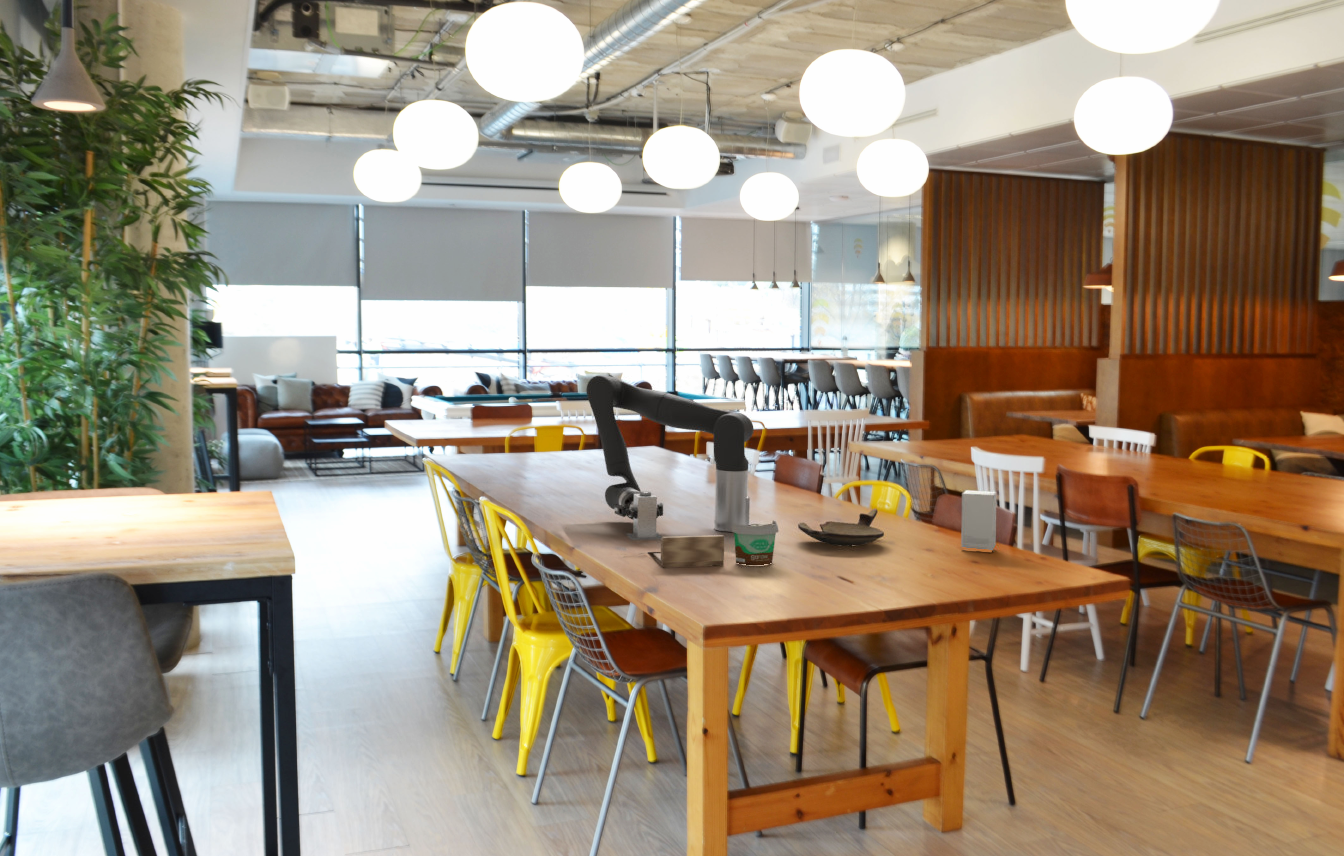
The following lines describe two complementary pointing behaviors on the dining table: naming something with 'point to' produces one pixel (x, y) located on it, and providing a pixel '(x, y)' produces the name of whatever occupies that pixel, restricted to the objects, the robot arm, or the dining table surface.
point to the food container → (754, 543)
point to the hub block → (645, 515)
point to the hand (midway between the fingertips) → (646, 514)
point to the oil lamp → (846, 531)
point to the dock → (690, 551)
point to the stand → (642, 538)
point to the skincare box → (978, 519)
